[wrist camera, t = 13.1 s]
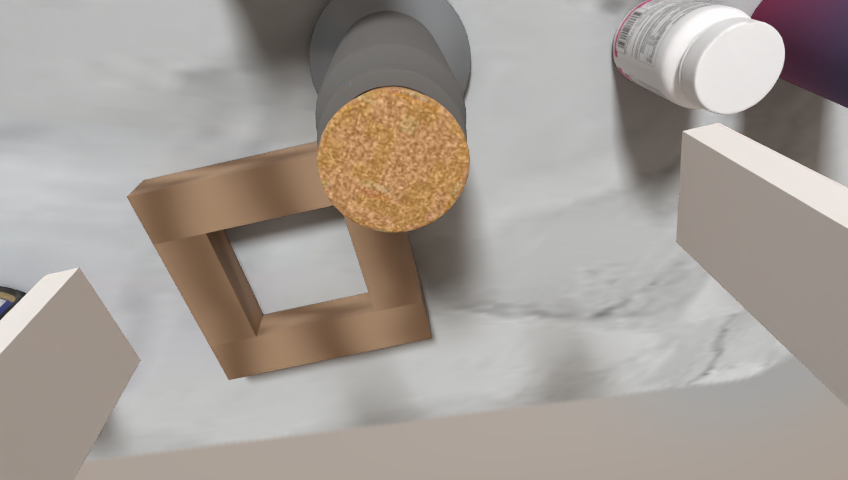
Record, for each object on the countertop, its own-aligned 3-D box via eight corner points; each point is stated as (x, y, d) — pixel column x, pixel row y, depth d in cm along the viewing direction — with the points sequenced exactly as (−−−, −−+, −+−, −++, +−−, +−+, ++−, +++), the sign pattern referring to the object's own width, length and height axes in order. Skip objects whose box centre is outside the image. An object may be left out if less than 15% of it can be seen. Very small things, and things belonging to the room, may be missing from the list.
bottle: (462, 59, 29) (527, 154, 16) (396, 137, 31) (406, 278, 18) (380, -16, 27) (377, 22, 14) (315, 73, 29) (258, 180, 16)
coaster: (336, 153, 32) (336, 156, 31) (288, -5, 27) (286, -4, 27) (479, 121, 31) (481, 124, 31) (454, -44, 27) (456, -44, 26)
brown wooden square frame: (236, 356, 39) (228, 380, 37) (143, 180, 32) (126, 196, 29) (428, 316, 38) (431, 338, 36) (380, 127, 31) (380, 140, 29)
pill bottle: (700, 56, 30) (802, 91, 23) (624, 96, 31) (699, 143, 24) (680, -23, 28) (786, -12, 21) (599, 23, 29) (673, 49, 22)
